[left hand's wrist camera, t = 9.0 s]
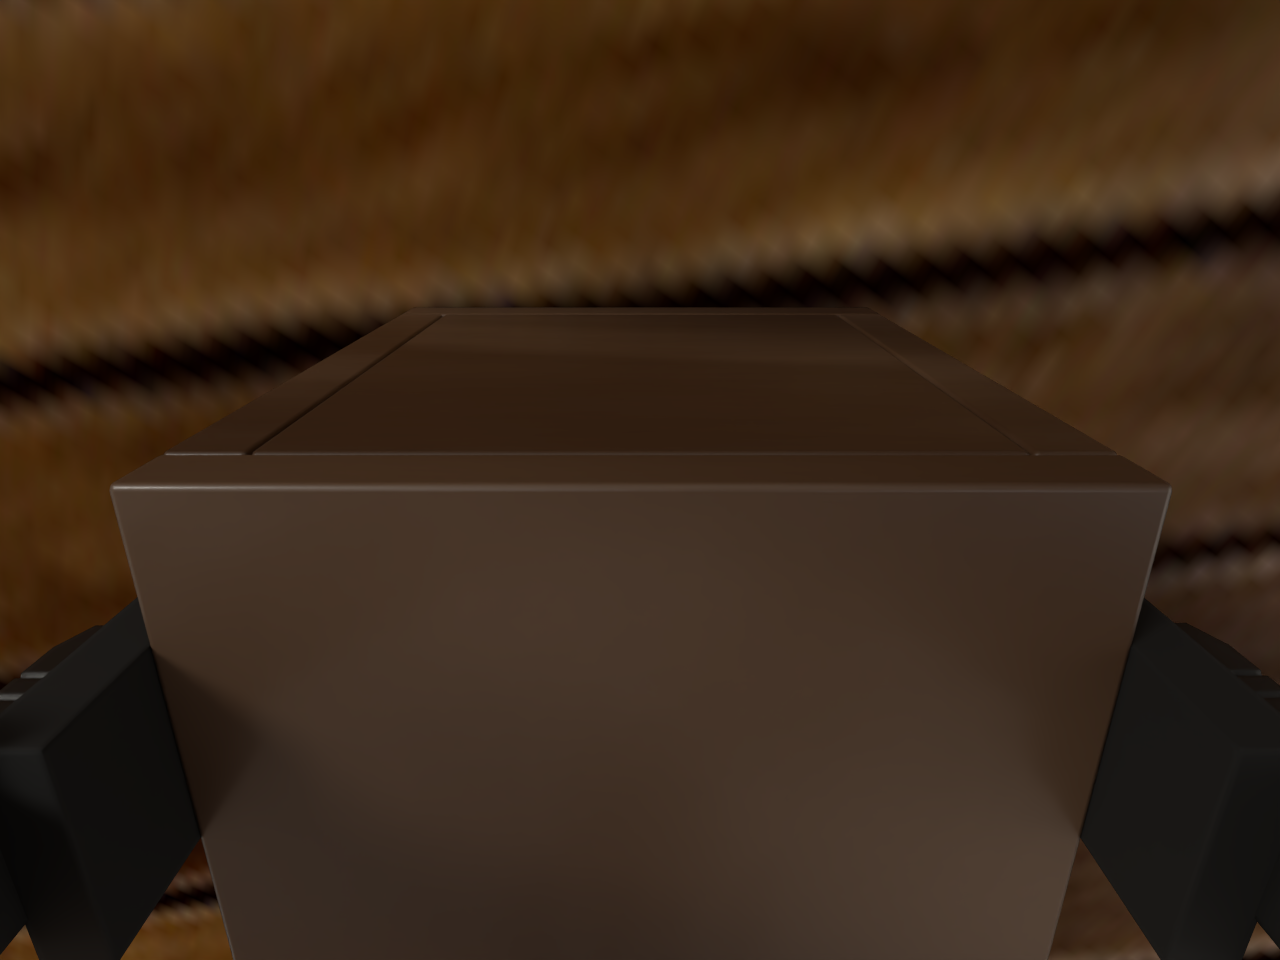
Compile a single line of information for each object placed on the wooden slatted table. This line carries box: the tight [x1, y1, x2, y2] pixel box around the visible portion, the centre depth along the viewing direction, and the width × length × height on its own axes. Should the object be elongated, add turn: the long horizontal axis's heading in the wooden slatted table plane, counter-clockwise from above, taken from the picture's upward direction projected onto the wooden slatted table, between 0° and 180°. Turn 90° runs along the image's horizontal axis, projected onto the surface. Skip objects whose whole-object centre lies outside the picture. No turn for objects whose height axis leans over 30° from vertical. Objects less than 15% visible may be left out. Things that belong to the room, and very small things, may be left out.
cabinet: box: [110, 308, 1172, 960], centre depth 16 cm, size 16×11×11 cm, turn 0°
